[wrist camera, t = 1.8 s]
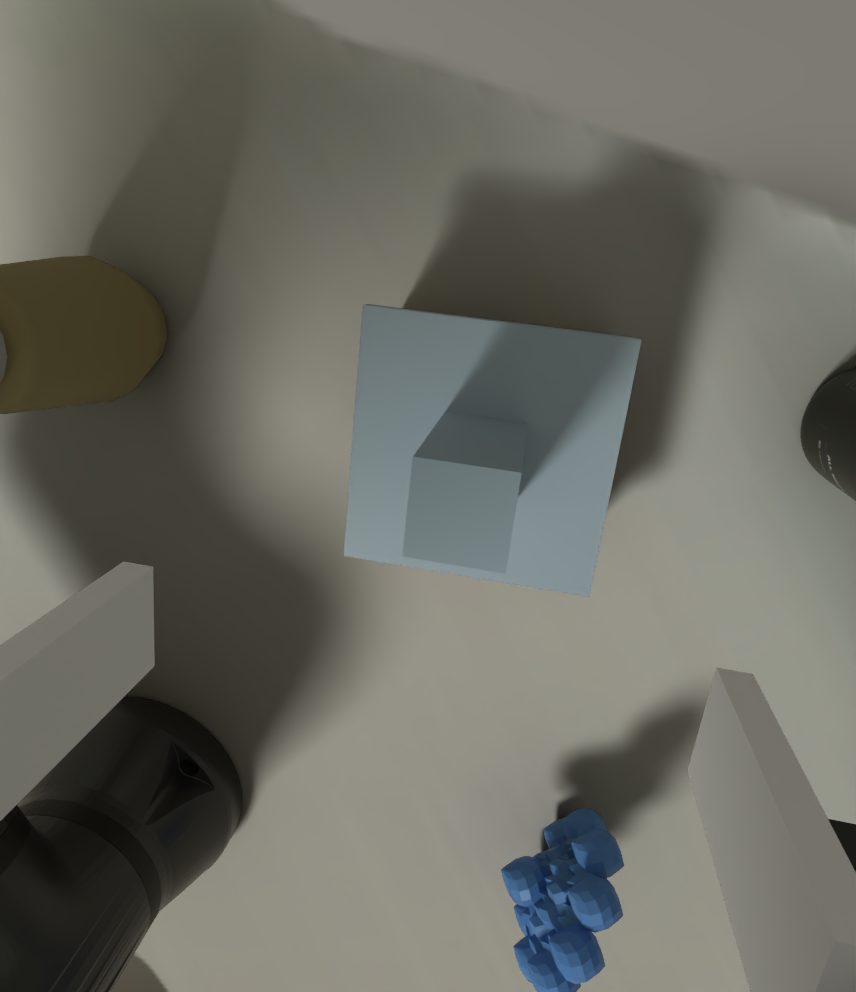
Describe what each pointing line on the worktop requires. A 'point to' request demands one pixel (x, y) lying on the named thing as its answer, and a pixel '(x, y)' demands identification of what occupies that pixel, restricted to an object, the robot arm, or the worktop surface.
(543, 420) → the lid
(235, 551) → the worktop surface
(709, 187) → the worktop surface
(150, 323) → the squeeze bottle
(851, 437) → the supplement bottle
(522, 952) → the grapes
